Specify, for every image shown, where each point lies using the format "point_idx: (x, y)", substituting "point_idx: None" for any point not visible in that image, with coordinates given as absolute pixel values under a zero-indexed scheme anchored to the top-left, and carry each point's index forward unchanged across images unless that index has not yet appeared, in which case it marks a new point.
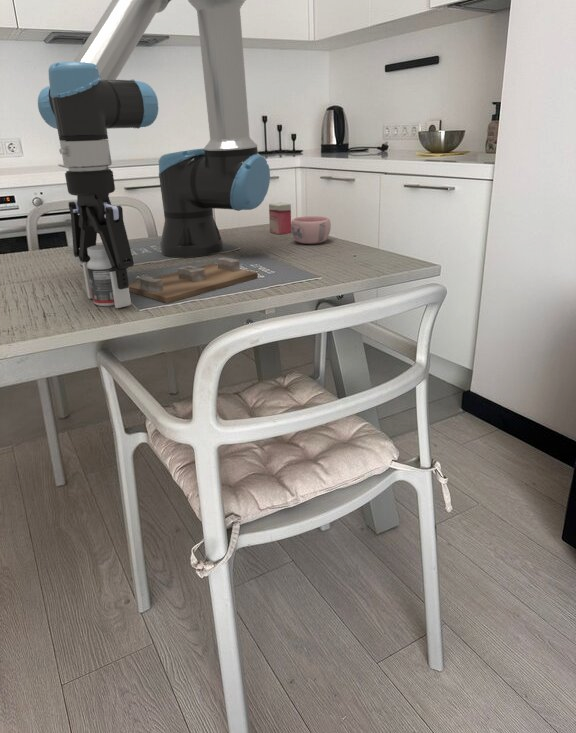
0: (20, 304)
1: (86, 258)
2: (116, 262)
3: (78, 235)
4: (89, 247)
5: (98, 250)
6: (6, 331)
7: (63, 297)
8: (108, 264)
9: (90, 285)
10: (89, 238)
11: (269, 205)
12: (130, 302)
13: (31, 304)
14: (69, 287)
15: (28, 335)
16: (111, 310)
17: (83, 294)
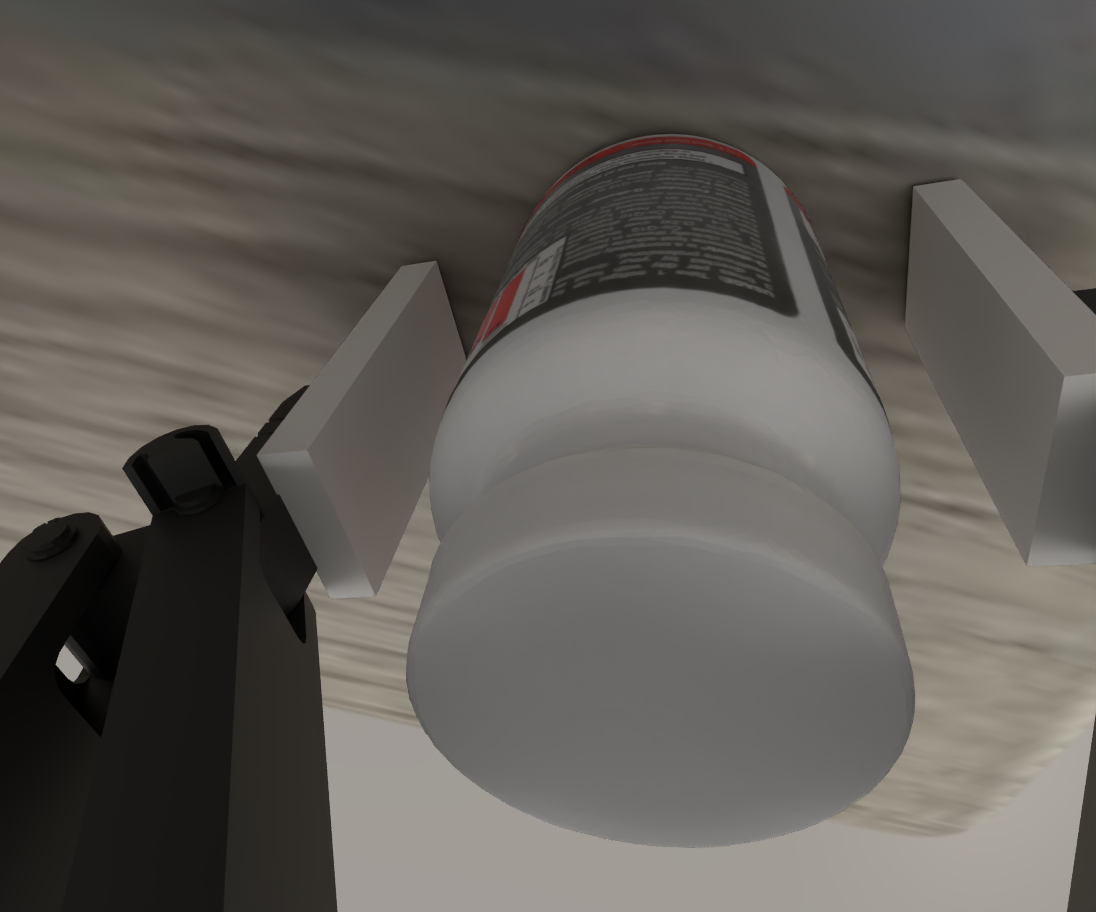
0: (320, 662)
1: (288, 583)
2: (871, 438)
3: (44, 892)
4: (528, 802)
5: (845, 804)
6: None
7: None
8: (884, 554)
9: (436, 418)
10: (299, 851)
11: None
12: (967, 191)
13: (353, 633)
14: (7, 363)
15: (920, 783)
16: (909, 361)
17: (276, 356)
